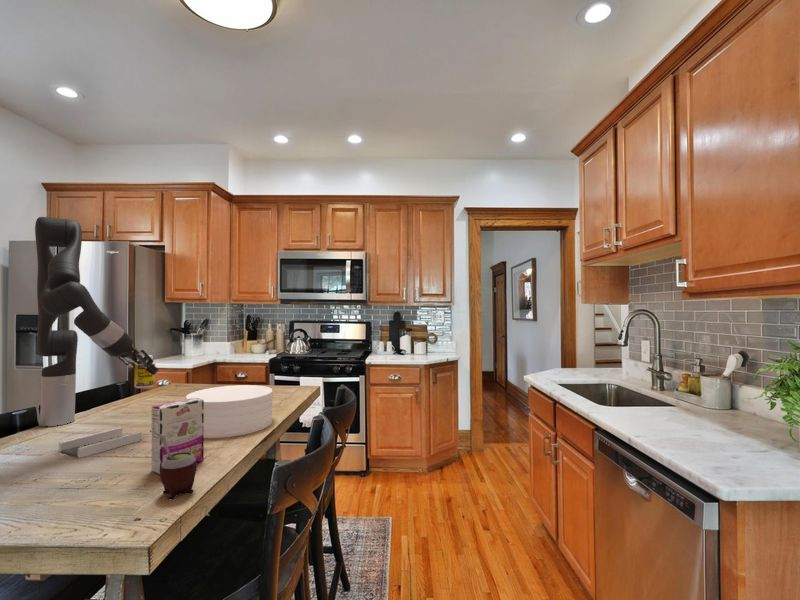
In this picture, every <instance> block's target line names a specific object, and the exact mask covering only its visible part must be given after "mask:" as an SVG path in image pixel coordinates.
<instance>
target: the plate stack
mask: <svg viewBox="0 0 800 600" xmlns="http://www.w3.org/2000/svg"><path fill="white" fill-rule="evenodd" d="M273 393H274V392H273V389H272V388H271V387H268V386H264V385H257V384H256V385H254V384H253V385H252V384H251V385H250V384H241V385H237V384H236V385H225V386H216V387H210V388H204V389H200V390H196V391H192V392H190V393H188V394H187V395H186V396H185V400H186V399H191V398H199V399H203V400H204V428H203V430H204V439H219V438H230V437H231V438H232V437H236V436H237V437H238V436H244V435H248V434H251V433H255V432H259V431H261V430H264V429H266V428H268V427H269V426H270V425H271V424H272V423H273V410H272V409H273V399H274V398H273V396H272V395H273Z"/></svg>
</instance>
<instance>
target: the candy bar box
mask: <svg viewBox="0 0 800 600" xmlns="http://www.w3.org/2000/svg"><path fill="white" fill-rule="evenodd" d="M203 428H204V400H203V399H199V398H191V399H186V398H185V399H182V400H177V401H171V402H167V403H162V404H157V405H153V406H151V430H152V431H154V432H157V433H160V434H161V435H162V436H163V437H165V439H166V443H167V446H168V448H169V451H170V453H171V454H174V453H179V452H190V453H192V454H193V455H194V457H195V458H196V462H197V463H200V462H203V461H204V455H205V454H204V448H205V447H204V441H205V438H204V430H203ZM167 456H168V454H167V451H166V449H165V446H164V444H163V443H162V441H161V438H160V437H159V436H157V435H155V434H154V433H152V432H151V472H153V473H155V474H157V475H159V476H160V468H161V464H162V462H163V461H164V459H165V458H166V457H167Z"/></svg>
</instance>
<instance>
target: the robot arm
mask: <svg viewBox="0 0 800 600" xmlns="http://www.w3.org/2000/svg"><path fill="white" fill-rule="evenodd" d="M82 231H83V229H82V226H81V223H79V221H77V220H75V219H70V218H69V219H68V218H61V217H51V216H40V217H38V218H37V219H36V220H35V225H34V236H35V247H36V248H35V249H36V256H37V257H36V258H37V279H36V282H37V283H36V290H37V291H36V292H37V293H36V294H37V315H38V317H37V321H38V322H37V333H36V334H37V335H36V352H37V353H38V355H39V356H41V357H60V356H61V357H64V358H63V359H62V360H61V361H59V362H57V363H55V364H51V365H49V366H46V367H43V368H42V369H41V376H40V377H41V381H40V383H41V385H40V386H41V387H40V410H39V411H40V412H39V413H40V414H39V416H40V419H39V426H40V427H45V426H48V427H56V426H57V425H58V426H62V425H63V426H64V425H67V423H68V424H70V422H71V423H73V422H75V421H76V420H75V419H76V418H75V417H76V416H75V415H76V414H75V413H76V385H77V384H76V380H77V379H76V378H77V352H78V341H79V337H78V333H77V331H76V330H74V329H59V330H58V329H53V330H51V328H52V327H53V324H54V323H55V322H56V320H57V319H58V318H59V317H60V316H63V315H65V314H68V313H69V312H72V311H73V310H75V309H77V308H79V307H80V308H81V309H82V311H81V312H80V313H79V314H77V316H76V317H75V318H74V319H73V324H74V325H75V327H77V328H78V329H79V330H80V331H81V332H82V333H84V334H85V335H86V336H88V337H89V339H90V340H91V342H93V343H94V344H96V345H97V346H98V347H99V348H100V349H101V350H103V351H104V352H105V353H106V354H108V355H109V356H110V357H112V358H113V357H115V358H116V359H118V360H120V361H121V362H122V363H123V364H124V365H126V366H130V367H131V368H134V369H135V364H136V365H141V366H142V367H144V368H145V369H146V370H147V371H149V372H150V373H151V374H152V375H155V376H156V374H157V373H158V372H159V368H158V367H157V366H156V365H155V366H154V365H153V364H152V363H153V362H155V360H154V359H153V360H152V359H151V358H150V356H149V355H150V354H148V353H147V352H146V351H145V350H144V349H140V350H139V349H138V348H137V347H134V346H133V344H134V338H133V337H132V336H130V335H129V334H128V333H127V332H126V331H125V330H124V329H123V328H122V327H120V325H118V324H117V323H115V322H114V321H113V320H111V318H109V317H108V316H107V315H106V314H105V313H104V312H103V311H102V310H101V309H100V308H99V307H98V305H97V303H96V302H95V300H94V299H93V297H92V294H91V293H90V291H89V290H88V289H87V287H86V286H85V285H84V284H82V283H81V274H80V258H81V253H82V252H81V251H82V240H83V232H82ZM51 247H52V248H53V247H54V248H63V249H62V250H61V251H59V252H58V253H57V254H56V255H53V253H52V251H51ZM138 359H139V361H138ZM146 361H147V362H146Z"/></svg>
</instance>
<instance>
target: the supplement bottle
mask: <svg viewBox="0 0 800 600" xmlns="http://www.w3.org/2000/svg"><path fill="white" fill-rule="evenodd" d="M148 355H149V356H150V358H151V359H152V360H153V361H154V359H153V357H154V356H153V355H151V354H148ZM138 361H139V359H138ZM146 362H147V361H146ZM152 364H153V365H154V366H155V367H156V362H155V361H154V362H153V363H152ZM155 379H156V374H155V375H152V374H151V373H150V372H149V371H147V370H146V369H145V368H144V367H142V366H141V365H136V364H135V368H134V382H133V384H134V388H135V389H148V388H152V387H154V386H155V384H156V383H155V381H156V380H155Z"/></svg>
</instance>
